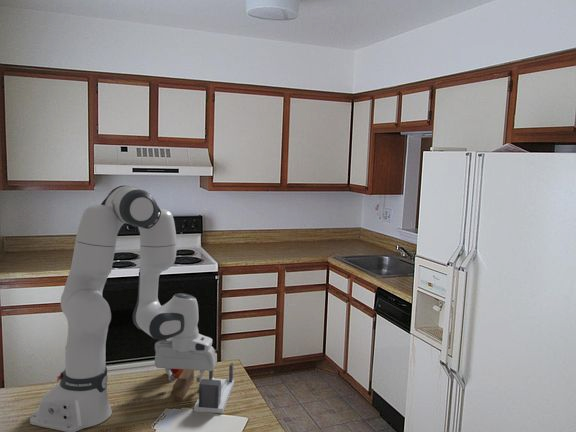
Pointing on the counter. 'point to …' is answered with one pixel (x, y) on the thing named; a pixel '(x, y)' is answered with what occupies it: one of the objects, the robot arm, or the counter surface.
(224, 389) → the endcap frame
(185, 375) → the slat
